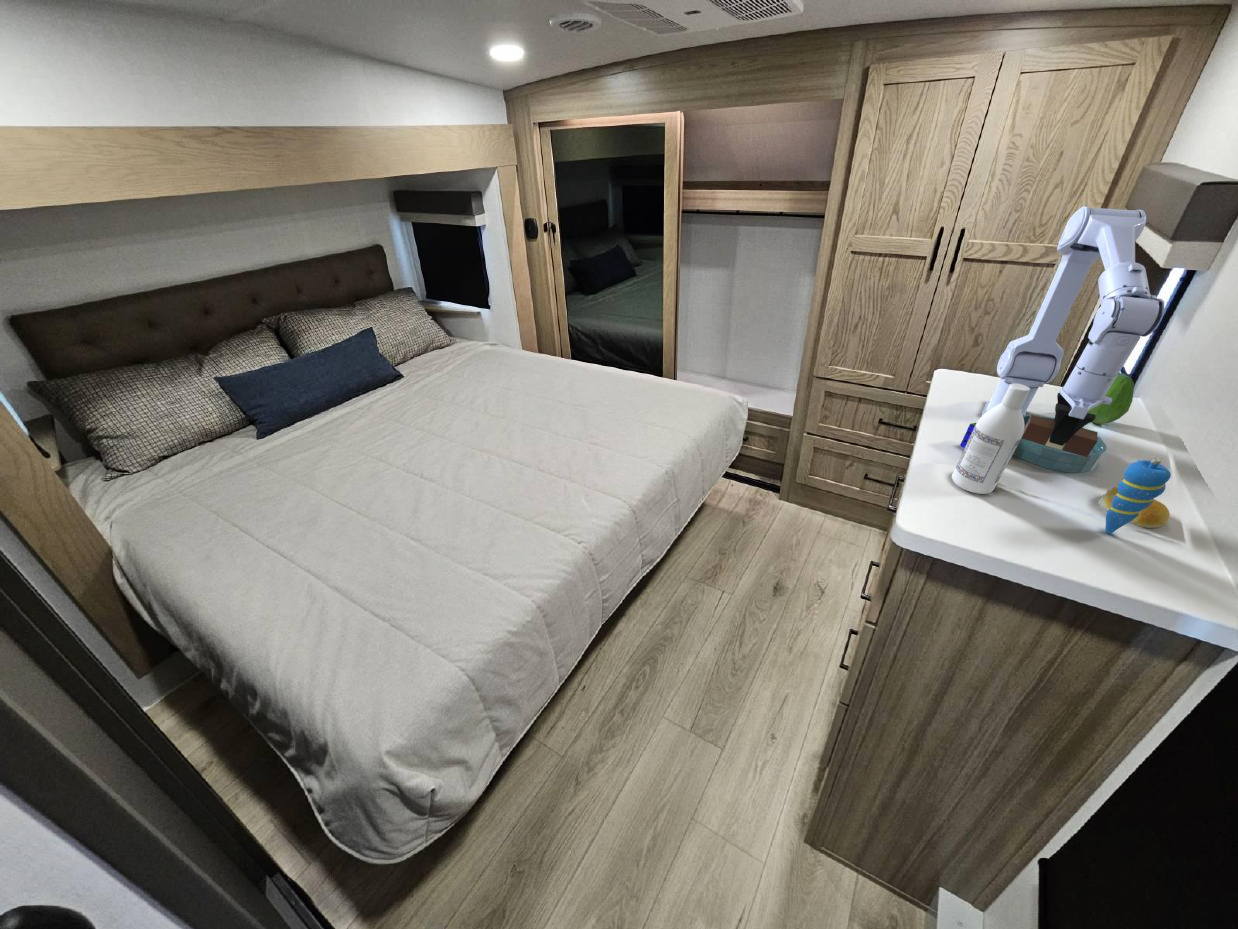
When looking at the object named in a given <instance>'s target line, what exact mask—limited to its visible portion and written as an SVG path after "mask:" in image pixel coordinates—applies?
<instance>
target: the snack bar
mask: <svg viewBox="0 0 1238 929" xmlns="http://www.w3.org/2000/svg"><path fill="white" fill-rule="evenodd" d="M1030 415H1031V417H1030V418H1029V420H1028V422H1027V424H1026V426H1025V428H1024V432H1023V435H1022V438H1021V439H1025V440H1028V441H1032V442H1035V443H1039V444H1042V445H1045V446H1049V447H1053V448H1056V449H1060V450H1063V451H1067V452H1070V453H1074V454H1077V455H1081V456H1084V457H1088V455H1089V454H1090V452H1091V451H1092V449H1093V448H1094V446H1095V444H1096V443H1097V441H1098V437H1099V436H1098V435H1099V434H1098V433H1099V432H1098V431H1095V430H1092V429H1088V428H1085V427H1082V428H1081V429H1079V430H1078V431H1077V432H1076V433H1075V434H1074V435H1073V436H1072V437H1071V438H1070V439H1069V440H1068V441H1067V442H1066V443H1065V444H1064V445H1063V446H1061V445H1057V444H1054V443H1050V442H1049V439H1050V435H1051V432H1052V429H1053V426H1054V423H1055V421H1054V420H1050V419H1046V418H1042V417H1038V416H1035V415H1036V414H1030Z"/></svg>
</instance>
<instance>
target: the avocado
mask: <svg viewBox="0 0 1238 929" xmlns="http://www.w3.org/2000/svg"><path fill="white" fill-rule="evenodd" d="M1134 392H1135V382H1134V380H1133V379H1132V378H1131V377H1130V376H1129V375H1128V374H1126V373H1121V372H1119V374H1118V375H1117V377H1116V379H1115V380H1114V382H1113V384H1112V385H1111V387H1110V388H1109V390H1108V392H1107V393H1106V395H1105V396H1106V397H1110V398H1112V402H1111V404H1110V405H1107V404H1100V405H1098V406H1096V407H1094V408H1092V409H1090V410H1089V411H1088V412H1087V413H1090V414H1094V415H1096V418H1095V419H1094V420H1093V421H1092V422H1091V423H1092V424H1097V425H1105V424H1111V423H1113V422H1115V421H1117V420H1119V419H1121V418H1122V417H1124V415H1126V414H1127V413H1128V412H1129V410H1130V409H1131V408H1130V407H1131V406H1132V403H1133V399H1134Z"/></svg>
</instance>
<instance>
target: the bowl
mask: <svg viewBox="0 0 1238 929" xmlns="http://www.w3.org/2000/svg"><path fill="white" fill-rule="evenodd" d="M1031 415H1032V414H1026V415H1023V418H1024V428H1025V426H1026V424H1027V422H1028V420H1029V418H1030V417H1031ZM1034 415H1035V416H1038V417H1042V418H1046V419H1050V420H1054V418H1055V417H1051V416H1045V415H1039V414H1034ZM1106 452H1107V444H1106V443H1105V442H1104V440H1103V439H1102V438H1101V437H1100V436H1098V441H1097V443H1096V444H1095V446H1094V448H1093V449H1092V451H1091V452H1090V454H1089V455H1088V457H1084V456H1081V455H1077V454H1074V453H1070V452H1067V451H1063V450H1060V449H1056V448H1053V447H1049V446H1045V445H1042V444H1039V443H1035V442H1032V441H1028V440H1025V439H1021V440H1020V442H1019V444H1018V446H1017V447H1016V449H1015V451H1014V453H1013V456H1015V457H1017V458H1019V459H1021V460H1023V461H1025V462H1028V463H1031V464H1033V465H1035V466H1037V467H1041V468H1044V469H1048V470H1050V471H1051V470H1052V471H1057V472H1062V473H1071V474H1072V473H1073V474H1083V473H1088V472H1091V471H1092V470H1094V469H1095V468H1096V467H1097V466H1098V464H1099V462H1100V461H1101V459H1102V458H1103V456H1104V454H1105V453H1106Z"/></svg>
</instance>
